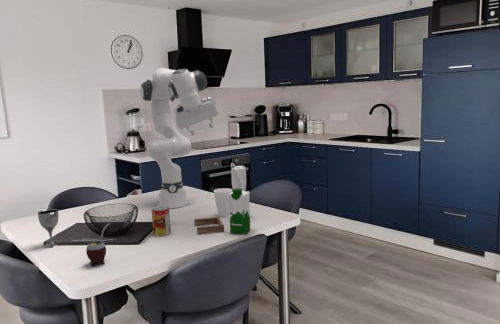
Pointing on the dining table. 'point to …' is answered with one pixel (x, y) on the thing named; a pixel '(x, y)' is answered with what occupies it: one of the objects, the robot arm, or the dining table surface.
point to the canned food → (161, 220)
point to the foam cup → (222, 201)
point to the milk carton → (239, 211)
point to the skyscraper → (238, 177)
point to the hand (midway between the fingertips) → (202, 131)
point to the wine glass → (49, 223)
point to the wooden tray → (209, 228)
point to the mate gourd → (97, 251)
